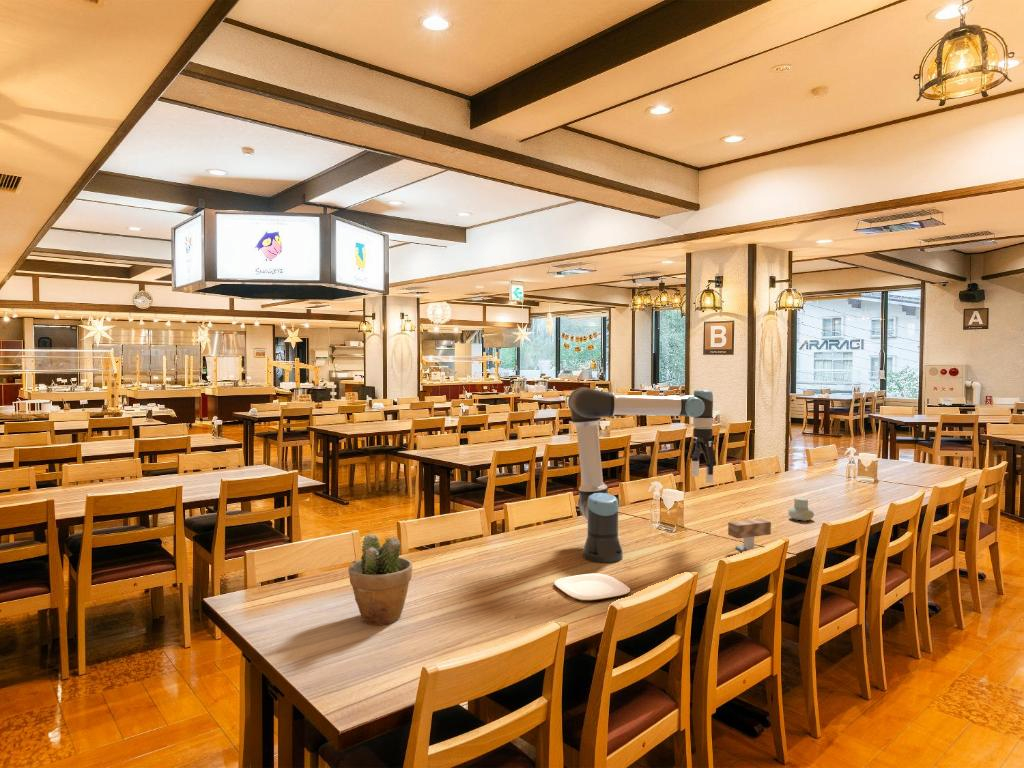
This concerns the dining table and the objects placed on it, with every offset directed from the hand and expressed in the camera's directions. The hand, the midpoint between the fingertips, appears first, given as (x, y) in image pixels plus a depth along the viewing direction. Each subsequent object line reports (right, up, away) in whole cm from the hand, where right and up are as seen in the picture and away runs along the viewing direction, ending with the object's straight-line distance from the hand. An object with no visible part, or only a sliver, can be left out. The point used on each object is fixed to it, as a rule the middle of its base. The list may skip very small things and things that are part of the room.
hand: (702, 479), depth 258 cm
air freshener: (+58, -25, +39) cm, 75 cm away
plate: (-52, -29, -51) cm, 78 cm away
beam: (+16, -20, -10) cm, 28 cm away
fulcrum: (+15, -27, -10) cm, 32 cm away
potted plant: (-116, -30, -73) cm, 141 cm away
